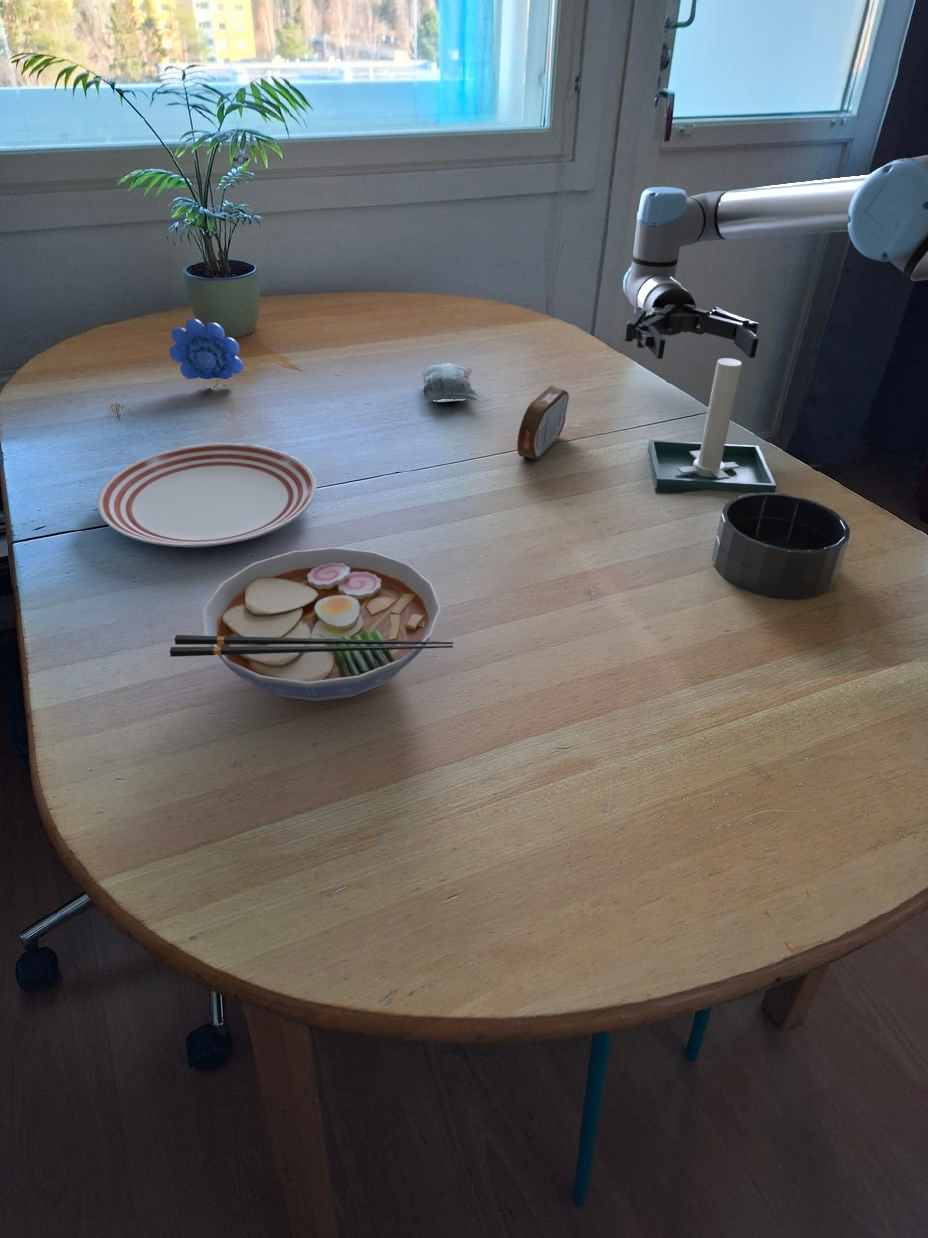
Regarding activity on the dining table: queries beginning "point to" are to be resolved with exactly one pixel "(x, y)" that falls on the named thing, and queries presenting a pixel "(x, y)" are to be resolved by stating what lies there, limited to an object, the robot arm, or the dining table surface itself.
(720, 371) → the blade
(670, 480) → the tray
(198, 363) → the blue flower rosette
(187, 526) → the dinner plate
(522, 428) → the tin
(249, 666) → the ramen bowl
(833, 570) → the bowl
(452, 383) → the packaged food
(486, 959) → the dining table surface
